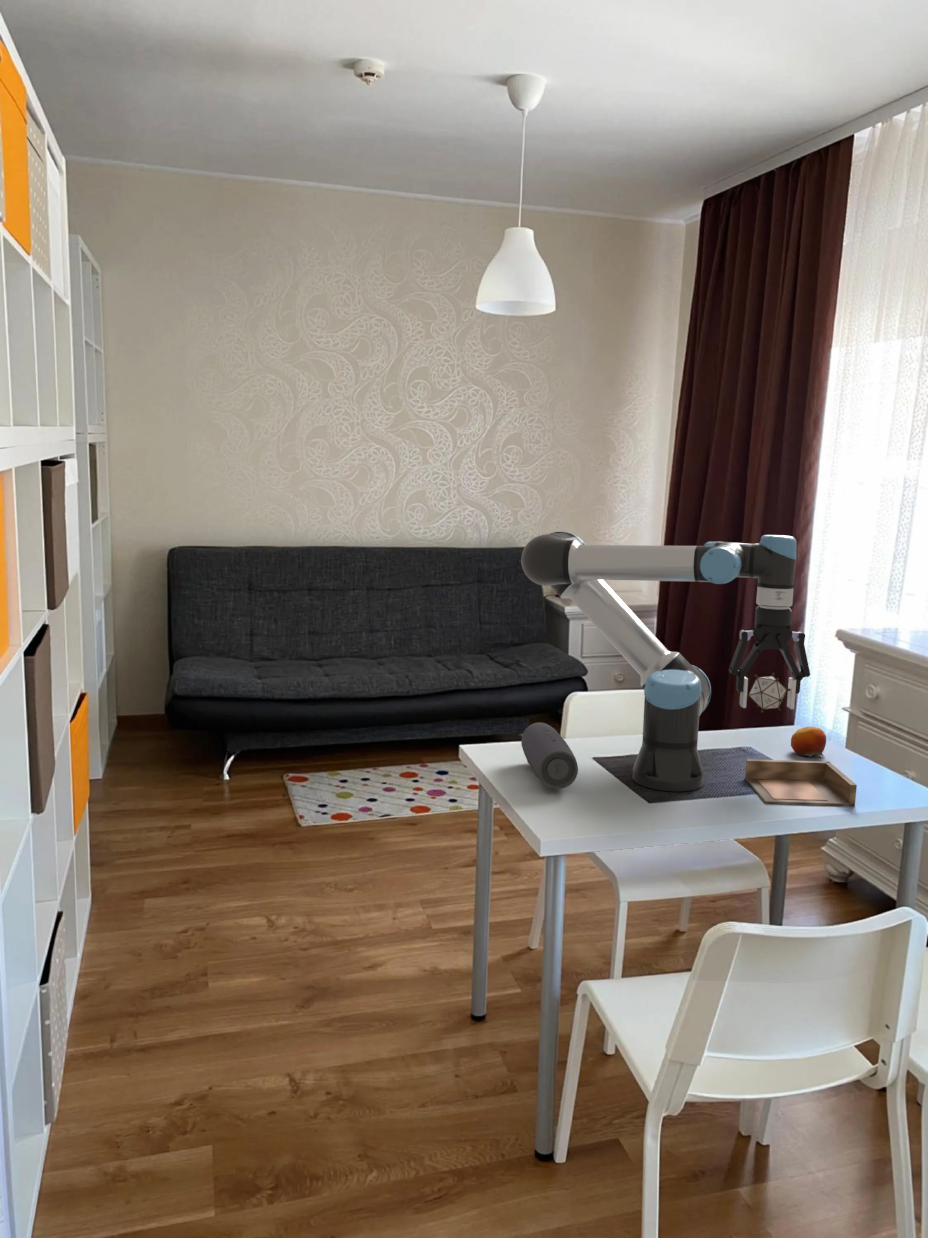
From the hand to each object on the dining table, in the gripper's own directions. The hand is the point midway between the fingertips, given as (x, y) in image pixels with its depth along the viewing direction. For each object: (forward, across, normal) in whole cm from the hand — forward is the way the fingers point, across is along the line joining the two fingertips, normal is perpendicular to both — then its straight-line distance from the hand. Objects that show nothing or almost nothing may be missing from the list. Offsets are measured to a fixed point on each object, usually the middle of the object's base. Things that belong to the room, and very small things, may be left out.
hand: (766, 707), depth 213 cm
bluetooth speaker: (+16, -48, -6) cm, 51 cm away
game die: (+1, 0, 0) cm, 1 cm away
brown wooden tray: (+16, +4, -11) cm, 20 cm away
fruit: (+16, +16, +18) cm, 29 cm away
